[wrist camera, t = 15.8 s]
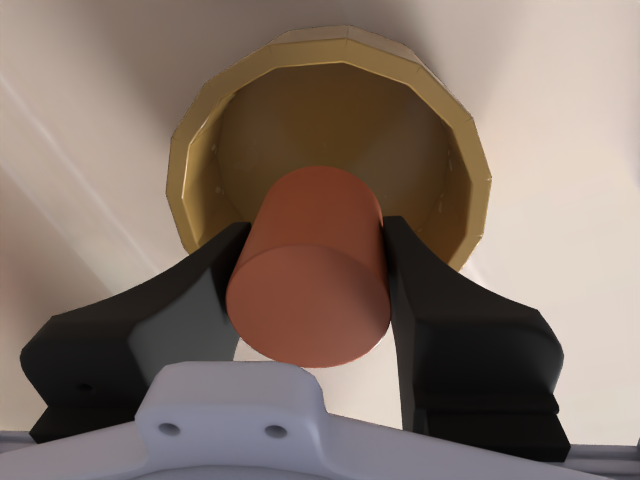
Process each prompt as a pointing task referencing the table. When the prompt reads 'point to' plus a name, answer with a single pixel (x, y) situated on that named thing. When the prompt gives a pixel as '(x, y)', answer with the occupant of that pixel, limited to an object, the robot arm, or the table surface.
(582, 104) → the table surface
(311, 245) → the candle
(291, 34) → the tin
